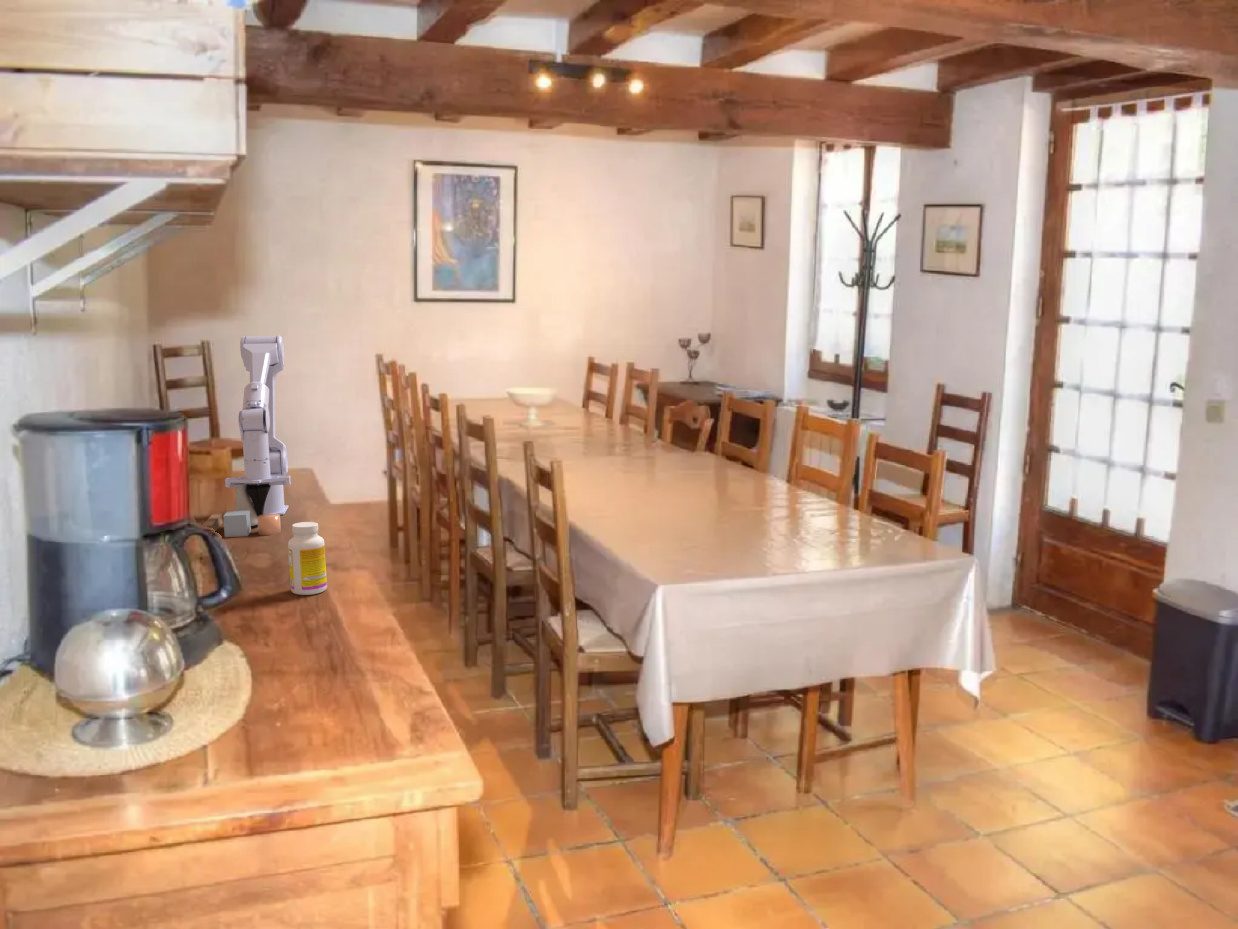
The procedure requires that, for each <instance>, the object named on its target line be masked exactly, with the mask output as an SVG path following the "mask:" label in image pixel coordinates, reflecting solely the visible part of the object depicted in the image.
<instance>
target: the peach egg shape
mask: <svg viewBox="0 0 1238 929" xmlns="http://www.w3.org/2000/svg"><path fill="white" fill-rule="evenodd" d="M257 521H258V524H257V532H258V535H260V536H273V535H278V534H281V533H282V530H281V529H282V526H281V515H279V514H262V515H259V516H257Z"/></svg>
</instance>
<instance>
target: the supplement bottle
mask: <svg viewBox="0 0 1238 929" xmlns="http://www.w3.org/2000/svg"><path fill="white" fill-rule="evenodd" d="M291 532H292V534H293V537H291V538H290V539H289V540H288V542H287V551H288V552H287V553H288V554H287V555H288V569H289V584H290V591H291V593H293V594H294V595H299V596H312V595H317V594H320V593H322V592H323V593H324V592H325V591H326V590H327V588H328V580H327V566H326V565H327V564H326V561H327V560H326V548H325V546H326V544H325V539H324V538H323V537H322V536H320V535H319V534H318V532H319V523H318V522H314V521H304V522H303V521H301V522H296V523H292V525H291Z"/></svg>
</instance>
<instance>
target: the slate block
mask: <svg viewBox="0 0 1238 929" xmlns="http://www.w3.org/2000/svg"><path fill="white" fill-rule="evenodd" d="M222 519H223V530H224V538H230V537H231V538H233V537H234V538H235V537H248V536H250V533H251V531H252V526H251V523H250V510H246V511H234V510H231V511H230V510H229V511H226V512H225V513H224V514H223V515H222Z"/></svg>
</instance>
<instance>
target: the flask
mask: <svg viewBox="0 0 1238 929" xmlns="http://www.w3.org/2000/svg"><path fill="white" fill-rule="evenodd" d="M233 488H234V492H235V505H234V510H233V511H246V510H250V523H251V527H254V526H256V525H257V526H258V521H257V513H256V509H255V507H254V504H253V502H252V500H251V498H250V496H249V495H248V493H247V491H246V489H247V484H242V485H233Z"/></svg>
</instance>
